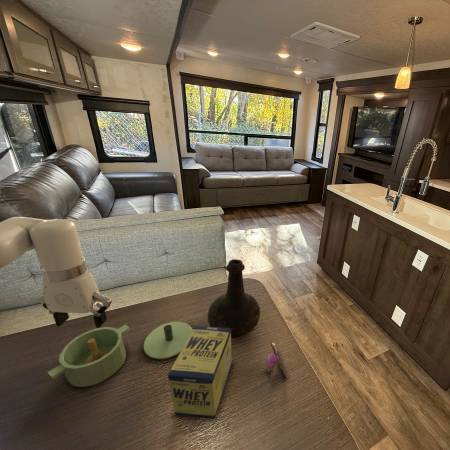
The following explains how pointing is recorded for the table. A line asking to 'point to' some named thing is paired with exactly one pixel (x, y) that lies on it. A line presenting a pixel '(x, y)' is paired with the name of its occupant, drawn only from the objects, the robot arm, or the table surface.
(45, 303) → the robot arm
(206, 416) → the protein box
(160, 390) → the table surface
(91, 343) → the disc with rod handle
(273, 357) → the purple flower twig
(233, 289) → the glass bottle
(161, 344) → the pot lid
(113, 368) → the pot
